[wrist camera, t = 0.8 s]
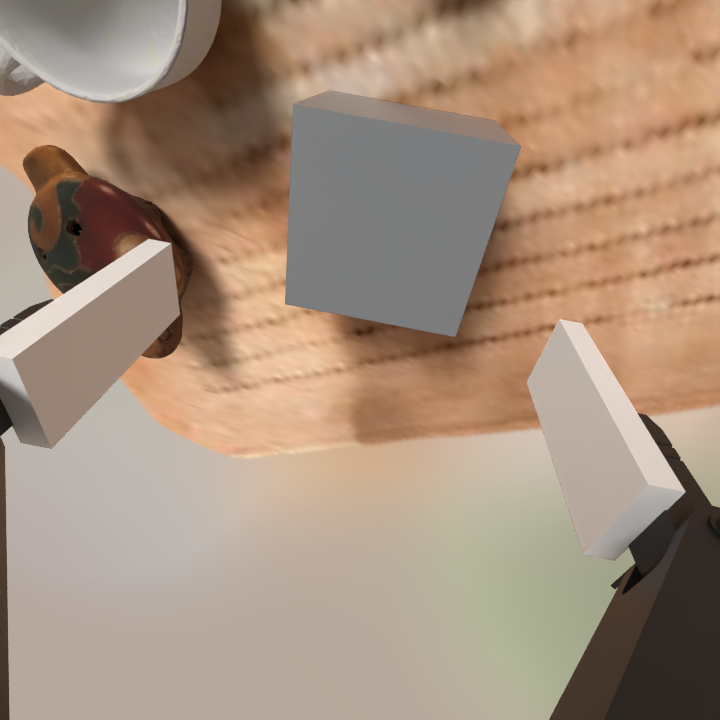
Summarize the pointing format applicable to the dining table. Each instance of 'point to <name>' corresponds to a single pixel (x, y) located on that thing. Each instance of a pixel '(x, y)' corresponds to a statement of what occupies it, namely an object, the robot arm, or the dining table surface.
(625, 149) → the dining table surface
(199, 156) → the dining table surface
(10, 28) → the teacup
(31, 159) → the decorative turtle
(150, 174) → the dining table surface
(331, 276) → the matte grey cube
